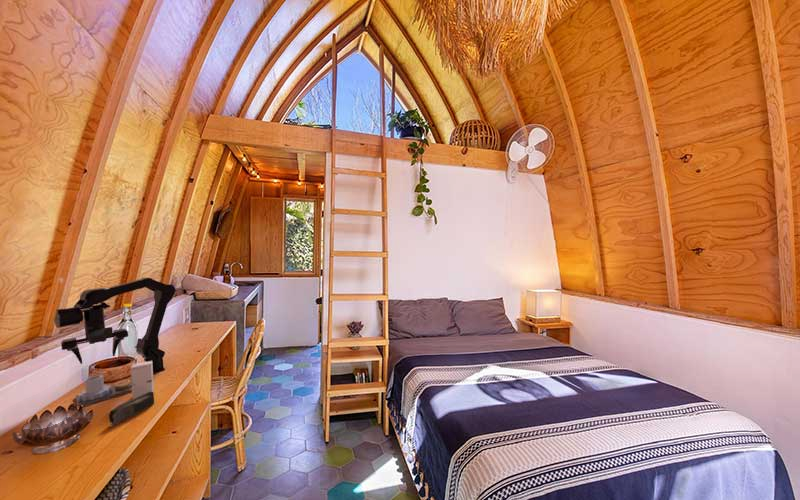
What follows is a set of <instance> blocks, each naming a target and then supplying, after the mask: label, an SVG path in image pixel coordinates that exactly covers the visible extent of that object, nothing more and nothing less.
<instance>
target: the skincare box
mask: <svg viewBox="0 0 800 500" xmlns="http://www.w3.org/2000/svg"><path fill="white" fill-rule="evenodd" d="M130 376H131V377H130V379H131V381H132V392H131V395H132V396H131V397H132V399H134V398H136V397H138V396H141V395H143V394H145V393H147V392H153V393H154V391H155V388H154V385H155V384H154V373H153V365H152V361H147V362H144V361H142V362H138V363H132V365H131V367H130ZM132 399H131V400H132Z"/></svg>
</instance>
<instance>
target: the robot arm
mask: <svg viewBox="0 0 800 500" xmlns="http://www.w3.org/2000/svg"><path fill="white" fill-rule="evenodd" d="M145 288H146V289H148V290H150V291H152V292H153V299H154V306H153V307H152V308H153V309H152V311H151V316H150V319H149V321H148V325H147V328H146V331H145V334H144V335H143V337H141V338H138V339H137V341H136V343H137V344H136V345H135V346H134V349H135V350H136V354H137V355H139V356H141V357H142V358H143V362H147V361H152V365H153V374H155V373H158V372H161V371H165V370H166V369H165V367H164V357H165V355H166V354H165V353H166V352H165V351H164V350H162V349H160V348H159V346H160V341H159V339H160V338H159V334H160V331H161V327H162V323H163V320H164V317H165V314H166V311H167V307H168V305H169V303H170V302H171V301H172V300H173V297H174V296H175V294H176V287H175V286H174V285H172V284H166V283H164V282H161V281H158V280H155V279H153V278H152V277H142V278H140V279H136V280H132V281H129V282H124V283H121V284H118V285H113V286H109V287H98V288H90V289H86V290H84V291H81V293H80V297H79V299H78V300H77V302H76V303H75V304H74V305H73V306H72V307H68V308H58V309H55V315H54V318H53V319H54V320H53V321H54V325H55V327H56V328H57V329H60V328H65V327H66V328H67V327H69V326H77V325H79V324H81V323H82V322H83V323H84V334H85V337H84V338H78V339H77V338H76V337H71V338H67V339H63V340H61V342H60V343H61V350H62V351H65V350H66V351H67V352H72V353H73V354H74V355H75V356H76V359H78V361H79V364H81V365H82V364H83V360H82V355H81V352H80V348H79V346H78V345H82V344H87V343H89V345H94V344H95V343H103V342H104V343H105V342H106V341H107V339H111V338H112V346H111V347H112V349H111V352H112V356H113V357H115V355H116V353H117V349H118V347H119V344H120V343H121V342H122V341H123V340H125V338H128V337H129V331H128V330H127V329H126V328H119V329H115V330H114V329H113V327H112V326H110V327H106V323H105V311H104V310H105V309H108V308H111V305H109V304H107V303H106V302H105V301H108V300H110V299H112V298H113V297H116V296H120V295H122V294H123V295H124V294H126V293H130V292H133V291H137V290H141V289H145Z"/></svg>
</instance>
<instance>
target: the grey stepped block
mask: <svg viewBox="0 0 800 500" xmlns="http://www.w3.org/2000/svg"><path fill="white" fill-rule="evenodd" d="M84 383H85V390H83V391H81V393H78V394H77V395H78V401H81V400H83V401H86V400H90V399H91V400H93V399H95V398H98V397H103V395H106V394H109V393H110V392H111V391H112V385H113V384H109V385H108V384H105V382H104V375H103V374H98V375H97V374H96V375H94V376H90V377H88V378H86V379H85V380H84Z"/></svg>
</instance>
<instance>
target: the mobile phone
mask: <svg viewBox="0 0 800 500" xmlns="http://www.w3.org/2000/svg"><path fill="white" fill-rule="evenodd" d="M154 404H155V394H154V391H153V392H147V393H145V394H143V395H141V396H138V397H136V398H134V399H130V400H127V401H126V402H125V401H124V402H123V403H121V404H118V405H117V406H115V408H113V409H112V410H110V412H109V415H108V416H109V422H110V423H111V424H110V425H108V426H107V428H108V429H110V428H112V427H114V426H116V425H118V424H120V423H122V422H124V421H125V420H127V419H129V418H131V417H133V416H135V415H136V414H139V413H141V412H143V411H145V410H146V409H148V408H150V407H152V406H153V405H154Z"/></svg>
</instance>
